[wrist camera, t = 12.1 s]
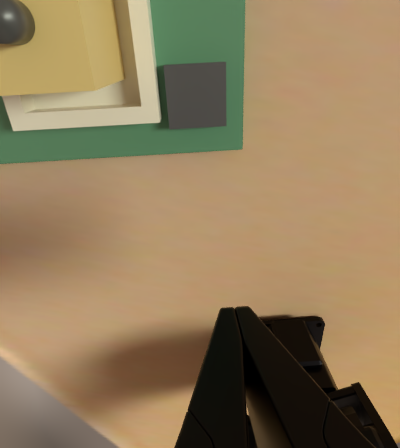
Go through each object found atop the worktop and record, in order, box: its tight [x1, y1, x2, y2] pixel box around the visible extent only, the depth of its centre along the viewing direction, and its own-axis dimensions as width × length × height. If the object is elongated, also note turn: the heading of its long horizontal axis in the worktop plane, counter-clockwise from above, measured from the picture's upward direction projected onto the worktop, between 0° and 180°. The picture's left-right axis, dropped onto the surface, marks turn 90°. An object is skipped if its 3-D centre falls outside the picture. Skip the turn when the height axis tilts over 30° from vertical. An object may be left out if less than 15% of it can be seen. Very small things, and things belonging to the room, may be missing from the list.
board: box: [0, 0, 245, 164], centre depth 14 cm, size 12×16×3 cm
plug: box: [0, 0, 125, 96], centre depth 11 cm, size 5×4×7 cm
